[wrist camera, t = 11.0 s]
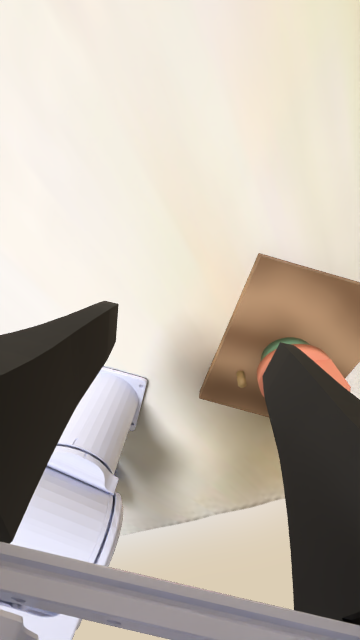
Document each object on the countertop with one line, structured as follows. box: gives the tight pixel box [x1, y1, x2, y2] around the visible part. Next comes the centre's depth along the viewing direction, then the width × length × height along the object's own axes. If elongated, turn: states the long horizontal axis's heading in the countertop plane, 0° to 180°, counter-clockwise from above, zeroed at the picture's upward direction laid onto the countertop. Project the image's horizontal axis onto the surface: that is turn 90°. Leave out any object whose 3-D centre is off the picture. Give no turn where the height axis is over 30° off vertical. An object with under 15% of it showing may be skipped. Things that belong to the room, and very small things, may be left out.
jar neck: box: [261, 337, 310, 361], centre depth 21 cm, size 5×5×2 cm
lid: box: [257, 344, 351, 398], centre depth 18 cm, size 6×6×4 cm
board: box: [199, 253, 360, 417], centre depth 21 cm, size 16×12×2 cm
